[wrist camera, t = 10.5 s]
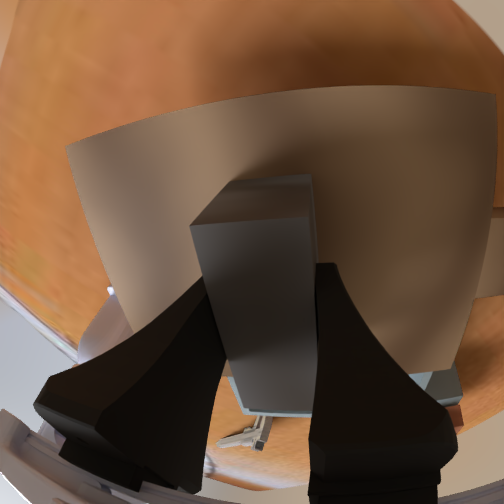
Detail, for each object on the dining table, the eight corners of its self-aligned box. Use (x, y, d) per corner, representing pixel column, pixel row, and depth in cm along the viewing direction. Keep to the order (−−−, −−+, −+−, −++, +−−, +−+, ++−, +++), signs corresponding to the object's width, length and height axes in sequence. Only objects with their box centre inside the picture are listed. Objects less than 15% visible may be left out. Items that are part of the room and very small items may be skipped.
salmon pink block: (405, 441, 27) (406, 459, 25) (423, 410, 23) (425, 432, 21) (436, 436, 26) (438, 454, 24) (459, 404, 22) (463, 425, 20)
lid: (163, 347, 20) (126, 416, 15) (90, 137, 13) (0, 173, 8) (494, 336, 14) (524, 410, 9) (535, 103, 8) (621, 128, 3)
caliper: (267, 402, 35) (258, 446, 30) (275, 404, 35) (267, 448, 30) (216, 441, 47) (207, 471, 42) (221, 443, 47) (213, 473, 42)
